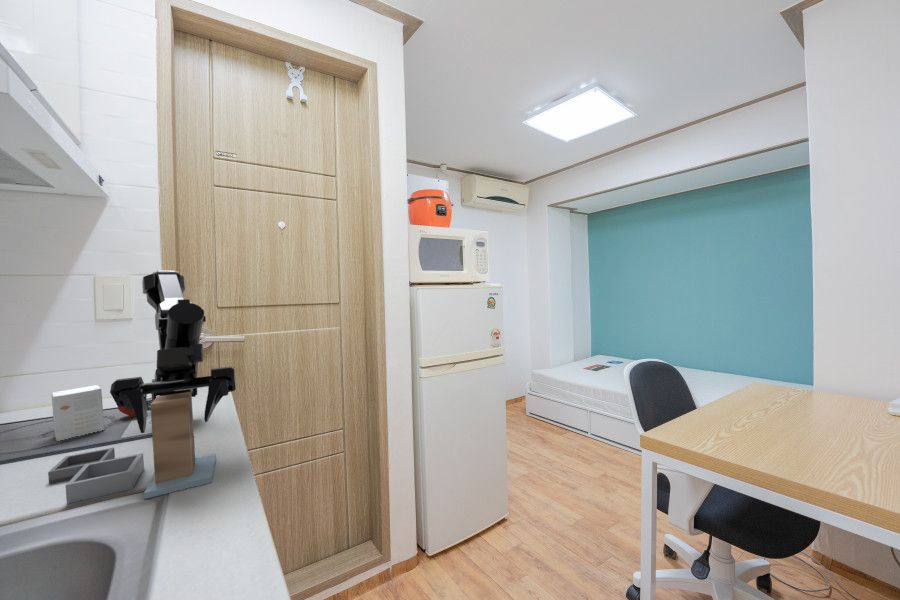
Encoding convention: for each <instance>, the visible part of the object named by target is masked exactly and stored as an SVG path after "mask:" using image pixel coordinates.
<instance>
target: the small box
mask: <svg viewBox="0 0 900 600" xmlns="http://www.w3.org/2000/svg"><path fill="white" fill-rule="evenodd" d="M102 394H103V393H102V388H101V387H100V386H99V385H97V384H95V385H89V386H84V387H83V386H82V387H78V388H72V389H71V388H70V389H67V390H66V389H65V390H61V391H54V392H51V401H52V402H51V404H52V417H53V429H54V435H55V440H56V442H57V441H59V442H61V441H60V440H63V441H65V440H64V439H67V440H69V439H68V438H71V437H75V436H79V435H83V434H87V435H89V434H88V433H91V434H94V433H93V432H95V433H98V432H97V431H99V432H103V431H105V430H106V429H105V421H104V420H105V419H104V418H105V417H104V408H103V407H104V405H103V395H102ZM102 430H103V431H102ZM83 436H84V435H83ZM79 437H80V436H79ZM75 438H76V437H75ZM71 439H72V438H71Z"/></svg>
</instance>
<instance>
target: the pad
mask: <svg viewBox="0 0 900 600" xmlns="http://www.w3.org/2000/svg"><path fill="white" fill-rule="evenodd" d="M216 461H217V454H216V453H214V454H213V453H212V454H209V455H204V456H200V457H195V466H194V470H193V473H192V475H191V476H186V477H182V478H178V479H174V480H169V481H165V482H161V483H156V484H155V471H154V473H153V475H152V476H151V477H150V478H151V479H150V480H149V481H148V482H149V483H147V486H146V488H145V490H144V491H143V499H145V500H146V499H151V498H154V497H157V496H158V497H159V496H163V495H166V494H169V493H174V491H175V492H178V491H177V490H179V491H182V490H181V489H183V490H186V489H185V488H187V489H190V488H189V487H191V488H194V486H195V487H198V486H199V487H200V486H202V485H207V484H211V483H213V482H212V481H213V476H214V472H215V466H216Z"/></svg>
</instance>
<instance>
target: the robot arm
mask: <svg viewBox="0 0 900 600" xmlns="http://www.w3.org/2000/svg"><path fill="white" fill-rule="evenodd" d="M141 282H142V284H141V285H142V294H144V295H146V301H147V304H149V305H150V306H151V307H152V308H153V309H154V310H155V314H154V323H155V329H156V331H157V333H158V345H159V349H158V350H156V369H155V371H154V378H153V379H151V382H146V383H144V380H143V378H142V376H136V377H127V378H119V379H116V380H114V381H113V382H112V383H111V386H110V390H109V393H110V395H111V397H112V399H113V401H114V403H115V405H116V406H117V408H118V407H125V408H126V409H127V410H132V409H133V410H134V412H135V418H136V421H137V424H138V428H139V431H140V433H141V434H144V433H145V432H146V429H147V416H148V415H147V414H148V404H147V396H148V395H150V396H151V401H152V402H153V401H154V399H155V398H156V397H157V396H164V395H172V394H179V393H186V392H191V394H192V398H196V397H197V395H198V389H199V388H200V389H201V388H208V391H207V396H206V401H205V408H204V423H208V422H209V419H210V418H211V416H212V414H213V412H214V410H215V408H216V407H217V405H218V404H219V402H220V401H221V400H222V398H223V397H227V396H228V395H229V393H232V392H234V391H237V390H236V389H237V385H236V384H237V383H236V373H235V368H234V367H232V366H224V367H223V366H222V367H216V368H215V367H213V368H211V369H210V375H209V376H199V377H198V372H199V363H201V362H204V346H203V344H202V343H200V337H201V335H202V331H203V325H204V323H205V322H206V321H207V320H206V316H205V309H204V308H202V307H201V306H200V305H198V304H196V303H193V302H191V301H190V299H188V298H187V299H186V298H185V296H184V292H185V290H186V286H185V276H184V275H181V274H180V271H176V270H166V269H165V270H156V271H155V270H154V271H153V272H152V273H151V274H147V275H144V276H143V277H142V281H141ZM145 401H146V402H145ZM152 402H151V403H152Z"/></svg>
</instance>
